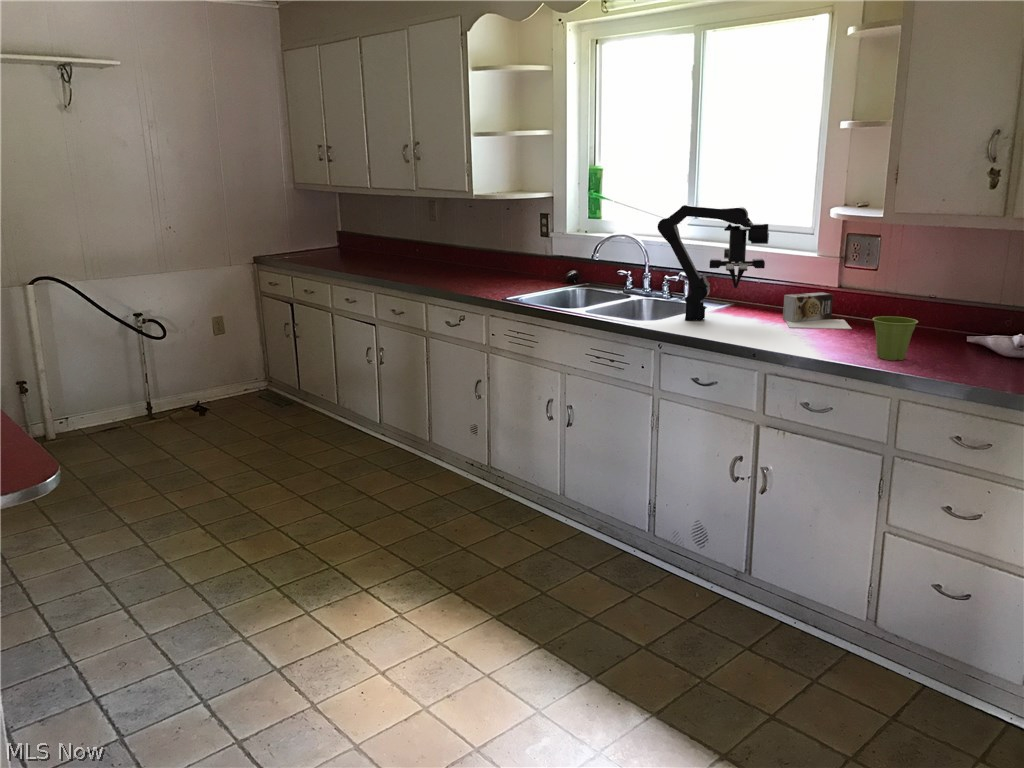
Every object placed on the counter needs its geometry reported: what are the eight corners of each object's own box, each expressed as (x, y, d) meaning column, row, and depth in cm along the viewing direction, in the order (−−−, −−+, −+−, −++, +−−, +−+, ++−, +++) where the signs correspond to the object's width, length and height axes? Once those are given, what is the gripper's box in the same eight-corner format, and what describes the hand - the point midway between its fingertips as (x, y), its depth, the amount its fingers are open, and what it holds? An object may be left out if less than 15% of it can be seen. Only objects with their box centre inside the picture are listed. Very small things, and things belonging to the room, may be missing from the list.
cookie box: (794, 297, 284) (833, 293, 288) (783, 294, 290) (822, 291, 294) (793, 322, 286) (832, 319, 290) (782, 320, 292) (820, 316, 296)
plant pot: (917, 363, 227) (922, 324, 224) (871, 362, 230) (875, 322, 227) (909, 354, 238) (914, 316, 235) (866, 352, 241) (869, 315, 238)
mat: (789, 328, 278) (789, 327, 278) (784, 319, 294) (785, 318, 293) (851, 329, 274) (851, 328, 274) (843, 320, 289) (843, 319, 289)
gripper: (763, 241, 291) (761, 284, 295) (710, 241, 295) (708, 284, 299) (766, 244, 281) (763, 289, 285) (710, 244, 285) (708, 288, 289)
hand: (735, 287), depth 290 cm, fingers closed
